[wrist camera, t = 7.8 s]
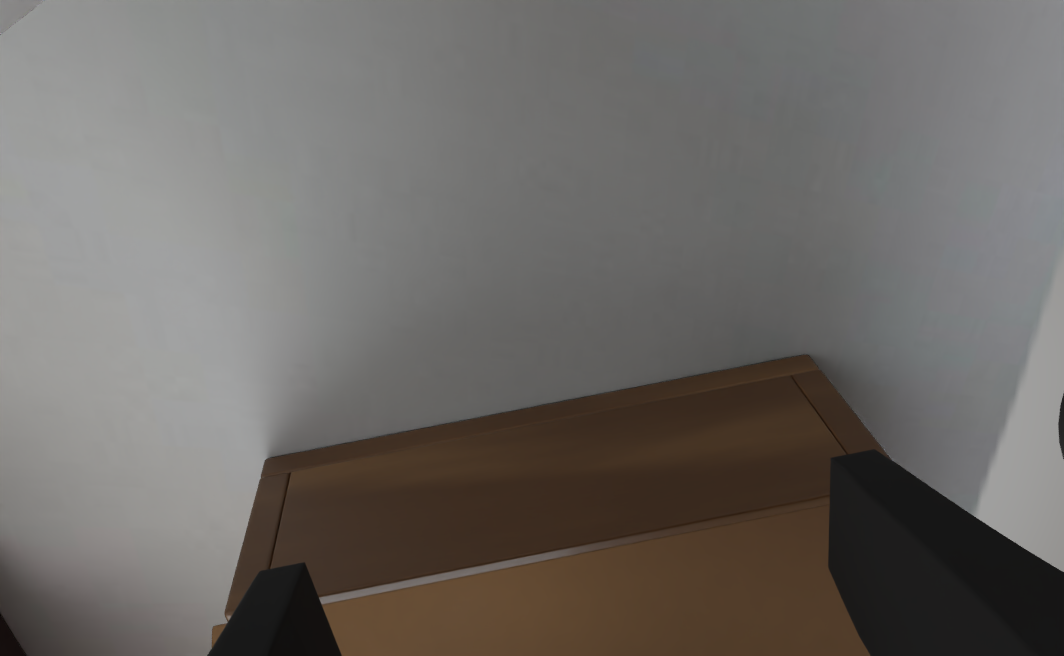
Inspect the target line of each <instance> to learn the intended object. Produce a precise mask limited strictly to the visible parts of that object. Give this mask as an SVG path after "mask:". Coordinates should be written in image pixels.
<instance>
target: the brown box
mask: <svg viewBox="0 0 1064 656" xmlns="http://www.w3.org/2000/svg"><path fill="white" fill-rule="evenodd" d="M829 508H830V504H827V505H822V506H817V507H812V508H807V509H802V510H796V511H791V512H786V513H781V514H776V515H771V516H766V517H761V518H756V519H751V520H746V521H741V522H736V523H731V524H726V525H721V526H716V527H711V528H706V529H700V530H695V531H690V532H685V533H680V534H675V535H670V536H665V537H660V538H655V539H650V540H645V541H640V542H635V543H630V544H625V545H620V546H615V547H610V548H604V549H599V550H594V551H589V552H584V553H579V554H574V555H569V556H564V557H559V558H554V559H549V560H544V561H539V562H534V563H529V564H524V565H519V566H514V567H508V568H503V569H498V570H493V571H488V572H483V573H478V574H473V575H468V576H463V577H458V578H453V579H448V580H443V581H438V582H433V583H428V584H423V585H418V586H413V587H407V588H402V589H397V590H392V591H387V592H382V593H377V594H372V595H367V596H362V597H357V598H352V599H347V600H342V601H337V602H332V603H327V604H322V607H323V609H324V612H325V614H326V617H327V619H328V622H329V624H330V627H331V630H332V632H333V635H334V637H335V640H336V642H337V645H338V647H339V650H340V652H341V655H342V656H870V654H869V652H868V650H867V649H866V647H865V645H864V644H863V642H862V640H861V639H860V637H859V635H858V633H857V631H856V628H855V626H854V624H853V622H852V620H851V618H850V616H849V613H848V611H847V609H846V607H845V605H844V603H843V600H842V598H841V596H840V593H839V591H838V589H837V586H836V584H835V582H834V580H833V577H832V575H831V573H830V570H829V568H828V550H829ZM226 624H227V623H226ZM226 624H221V625H216V626H214V627H213V629H212V647H213V645H214V644H215V642H216V641H217V639H218V637H219V636H220V634H221V632H222V631H223V629H224V628H225V626H226Z"/></svg>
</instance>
